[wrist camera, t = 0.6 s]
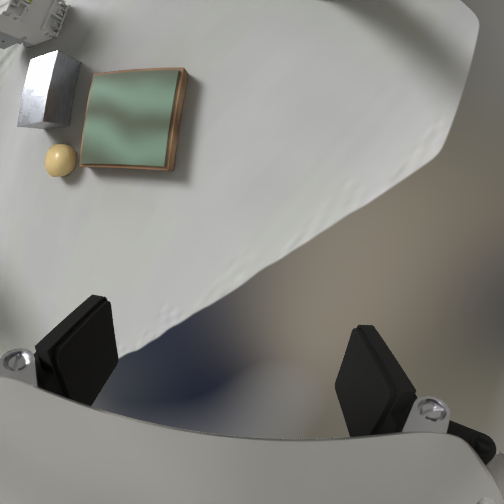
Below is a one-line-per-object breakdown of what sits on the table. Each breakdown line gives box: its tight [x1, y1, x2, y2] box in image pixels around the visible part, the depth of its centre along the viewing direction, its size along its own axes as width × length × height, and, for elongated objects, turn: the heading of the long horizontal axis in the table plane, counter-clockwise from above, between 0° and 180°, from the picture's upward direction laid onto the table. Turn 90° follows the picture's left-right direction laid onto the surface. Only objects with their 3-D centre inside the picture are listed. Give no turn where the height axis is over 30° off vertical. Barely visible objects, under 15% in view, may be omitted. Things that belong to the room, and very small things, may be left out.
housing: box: [17, 51, 81, 129], centre depth 30 cm, size 11×6×7 cm, turn 174°
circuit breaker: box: [0, 0, 69, 49], centre depth 21 cm, size 8×14×15 cm, turn 84°
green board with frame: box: [79, 68, 188, 171], centre depth 33 cm, size 14×14×3 cm
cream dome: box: [45, 144, 77, 177], centre depth 35 cm, size 5×5×2 cm
